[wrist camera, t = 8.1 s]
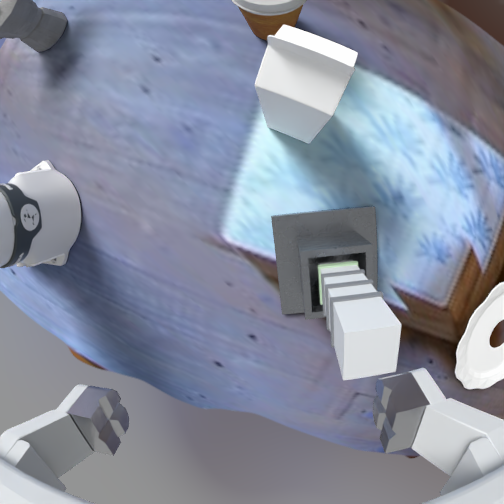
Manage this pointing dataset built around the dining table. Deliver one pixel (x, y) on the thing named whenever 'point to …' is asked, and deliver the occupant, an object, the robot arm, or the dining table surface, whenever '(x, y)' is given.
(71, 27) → the dining table surface
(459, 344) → the plate
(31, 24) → the coffeepot
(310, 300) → the stand
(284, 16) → the disposable coffee cup
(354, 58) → the milk
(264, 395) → the dining table surface
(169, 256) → the dining table surface
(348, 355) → the column
